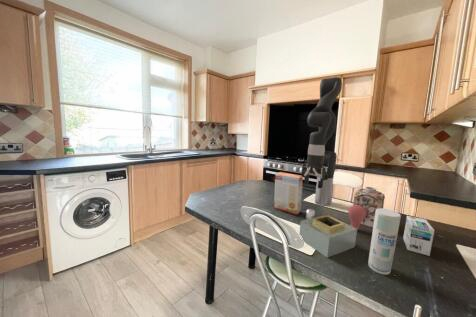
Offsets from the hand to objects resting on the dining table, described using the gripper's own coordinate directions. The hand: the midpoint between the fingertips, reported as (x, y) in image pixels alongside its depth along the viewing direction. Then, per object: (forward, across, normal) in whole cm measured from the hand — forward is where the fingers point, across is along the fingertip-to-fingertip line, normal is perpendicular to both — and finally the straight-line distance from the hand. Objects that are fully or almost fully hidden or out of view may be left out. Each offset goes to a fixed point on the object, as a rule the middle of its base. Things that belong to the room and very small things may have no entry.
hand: (312, 185), depth 98 cm
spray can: (+18, -36, +6) cm, 41 cm away
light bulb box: (+18, -35, -22) cm, 45 cm away
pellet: (+18, 0, 0) cm, 18 cm away
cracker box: (+18, +14, +3) cm, 23 cm away
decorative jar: (+18, -13, -26) cm, 34 cm away
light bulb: (+18, -16, -12) cm, 27 cm away
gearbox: (+18, -18, +10) cm, 27 cm away
